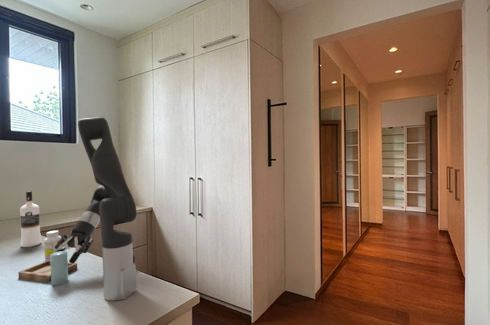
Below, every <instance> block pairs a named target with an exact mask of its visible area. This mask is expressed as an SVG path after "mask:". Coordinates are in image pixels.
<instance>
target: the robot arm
mask: <svg viewBox="0 0 490 325" xmlns="http://www.w3.org/2000/svg"><path fill="white" fill-rule="evenodd" d="M108 123H109V122H108V121H107V119H106V118H105V117H102V116H101V117H100V116H96V117H89V118H88V117H87V118H80V119H79V120H78V122H77V125H78V126H77V127H78V132H79V136H80V139H81V142H82V144H83V148H84V149H85V152H86V155H87V157H88V160H89V163H90V165H91V168H92V172H93V177H94V180H95V183H96V184H98V185H99V186H97V188H95V190H94V192H93V194H92V198H91V201H90V203H89V205H88V207H87V208H86V210H85V211H84V212H83V214H82V215H81V216H80V217H79V219H78V220H77V221H76V223H75V225H73V228H72V229H71V234H70V235H67V234H63V235H62V236H61V239H60V240H59V242H58V243H57V244H56V246H55V248H56V249H57V251H56V252H60V251H67V250H70V249H71V248H73V249H74V248H75V251H74V252H73V254H72V255H71V257H70V258H69V260H68V262H70V263H73V264H74V263H77V262H76V261H78V258H79V257H80V255H82V254H86V253H88V250H90V247H91V245H92V243H93V241H94V238H92V237H91V236H92V235H93V233H94V232H95V230H96V228H97V226H98V225H99V223H100V228H101V229H100V231H101V243H102V244H101V246H102V247H101V248H102V249H101V250H102V251H101V253H102V271H103V272H102V275H103V276H102V277H103V278H102V279H103V298H104V299H105V300H106V301H120V300H125V299H127V298H128V297H130V296H131V295H132V294H134V293H135V292H136V291H137V267H136V263H134V264H133V255H134V253H133V236H132V235H133V234H131V233H130V232H127V231H120V230H116V229H114V226H117V225H121V224H127V223H132V222H134V221H135V220H136V218H137V215H138V214H137V206H136V203H135V199H134V197H133V195H132V193H131V190H130V189H129V187H128V184H127V182H126V178H125V175H124V172H123V169H122V165H121V162H120V160H119V156H118V154H117V152H116V147H115V145H114V142H113V138H112V135H111V130H110V126H109V124H108ZM95 140H101V142H100V143H99V145H98V147H97V148H95V147H94V146H93V144H92V141H95ZM60 244H61V246H60V247H59V245H60Z"/></svg>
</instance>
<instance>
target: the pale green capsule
mask: <svg viewBox="0 0 490 325" xmlns="http://www.w3.org/2000/svg"><path fill="white" fill-rule="evenodd" d="M50 261H51V282H50V283H51V286H56V287H57V286H60V285H64V284H66V283H68V281H69V273H68V262H69V260H68V251H67V250H65V251H60V252H56V253H53V254H51V255H50Z"/></svg>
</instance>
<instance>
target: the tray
mask: <svg viewBox="0 0 490 325" xmlns="http://www.w3.org/2000/svg"><path fill="white" fill-rule="evenodd" d="M76 270H78V263H77V262H75V263H74V264H73V263H70V262H69V261H68V274H70V273H72V272H74V271H76ZM18 279H20V280H21V279H22V280H27V281H36V282H43V283H51V261H50V260H48V261H47V260H45V261H42V262H41V263H38V264H35V265H33V266H30V267H28V268H25V269H22V270H20V271H18Z"/></svg>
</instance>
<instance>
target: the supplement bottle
mask: <svg viewBox="0 0 490 325" xmlns="http://www.w3.org/2000/svg"><path fill="white" fill-rule="evenodd" d="M59 233H60V232H59V230H50V231H47V232H46V238H44V240H43V243H44V244H43V245H44V259H45V261H48V260H50V255H51V254H53V253H56V251H57V249H56V248H55V246H56V244H57V243H58V242H59V240H60V239H61V238H62V236H61V235H59ZM60 246H61V244H60V245H59V247H60Z"/></svg>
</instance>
